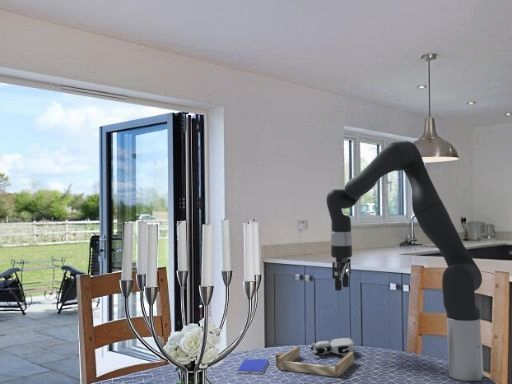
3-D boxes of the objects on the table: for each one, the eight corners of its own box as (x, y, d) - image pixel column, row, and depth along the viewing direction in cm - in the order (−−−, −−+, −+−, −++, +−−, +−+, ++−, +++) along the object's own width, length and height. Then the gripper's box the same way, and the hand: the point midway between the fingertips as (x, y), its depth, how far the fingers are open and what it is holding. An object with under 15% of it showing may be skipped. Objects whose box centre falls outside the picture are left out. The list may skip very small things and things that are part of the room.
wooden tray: (354, 362, 173) (353, 352, 173) (338, 376, 160) (338, 365, 160) (291, 355, 184) (291, 345, 184) (272, 368, 170) (271, 357, 170)
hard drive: (244, 358, 178) (236, 370, 166) (268, 359, 177) (262, 370, 164) (244, 363, 178) (236, 375, 166) (268, 363, 177) (262, 375, 164)
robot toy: (312, 361, 180) (357, 358, 178) (311, 348, 180) (355, 344, 179) (311, 351, 192) (353, 348, 191) (310, 339, 192) (351, 335, 191)
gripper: (345, 246, 187) (346, 292, 186) (357, 242, 199) (357, 286, 199) (325, 245, 190) (325, 291, 190) (337, 242, 203) (338, 285, 202)
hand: (342, 288), depth 194 cm, fingers open, 8 cm apart
